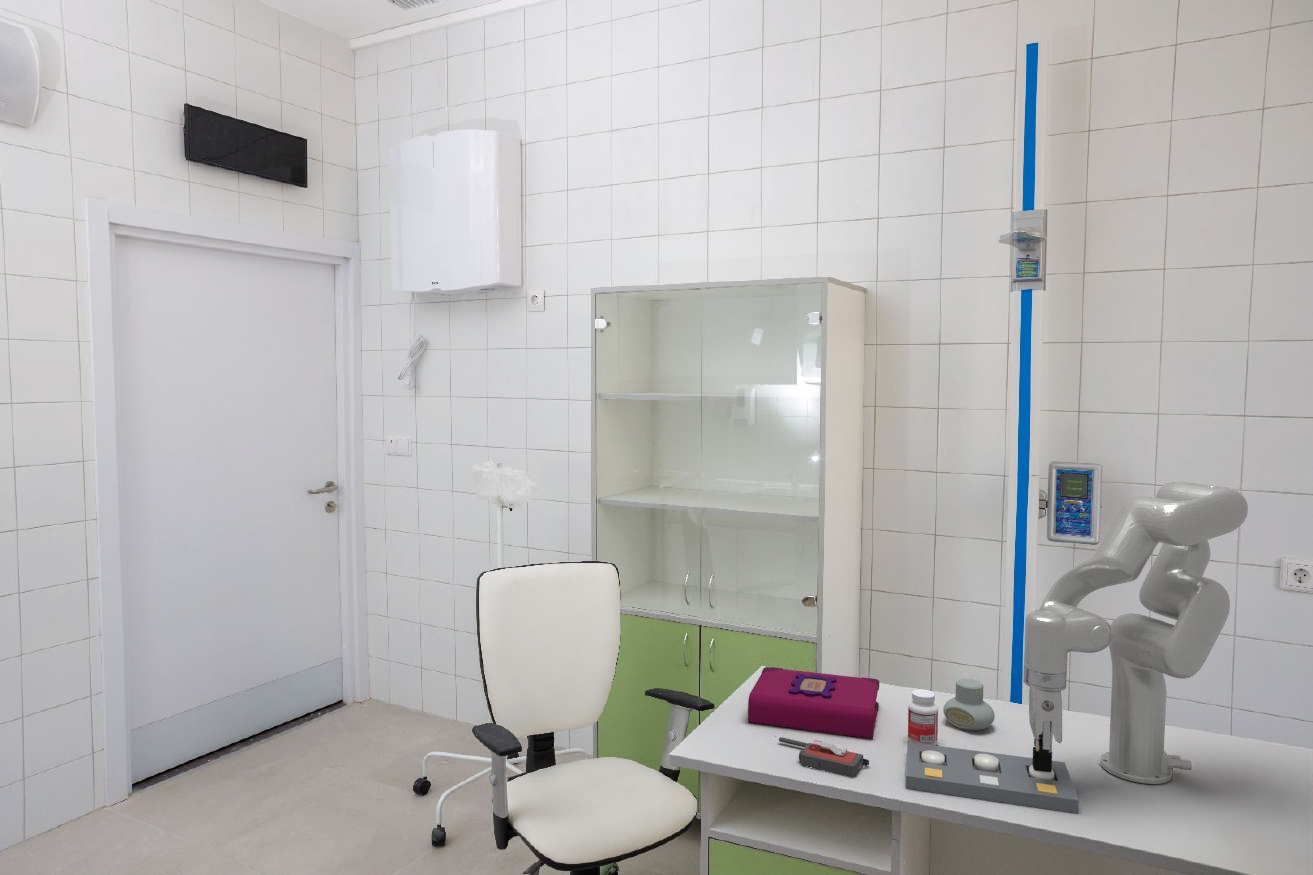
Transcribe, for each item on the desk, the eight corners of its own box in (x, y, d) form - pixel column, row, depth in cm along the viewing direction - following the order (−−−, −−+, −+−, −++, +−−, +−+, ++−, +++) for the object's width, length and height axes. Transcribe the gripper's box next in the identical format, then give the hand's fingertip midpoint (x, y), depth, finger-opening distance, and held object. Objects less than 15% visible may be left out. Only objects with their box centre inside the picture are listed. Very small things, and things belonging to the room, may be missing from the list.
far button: (944, 760, 169) (944, 752, 169) (944, 770, 165) (944, 761, 165) (921, 757, 171) (921, 749, 171) (921, 766, 166) (921, 758, 166)
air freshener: (937, 723, 191) (938, 680, 191) (954, 713, 197) (956, 672, 196) (982, 738, 183) (984, 693, 183) (1000, 727, 189) (1001, 684, 188)
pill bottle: (918, 734, 185) (919, 685, 185) (942, 743, 181) (944, 693, 180) (901, 741, 181) (902, 692, 181) (926, 751, 177) (927, 700, 176)
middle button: (997, 764, 166) (997, 755, 166) (999, 773, 162) (999, 764, 162) (973, 761, 168) (973, 752, 167) (974, 770, 163) (975, 761, 163)
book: (873, 742, 182) (874, 708, 181) (747, 725, 191) (747, 693, 190) (879, 707, 202) (879, 676, 201) (764, 693, 210) (764, 663, 210)
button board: (1064, 774, 167) (1064, 760, 166) (1078, 813, 151) (1078, 798, 151) (907, 753, 176) (907, 740, 175) (905, 788, 160) (906, 774, 160)
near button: (1052, 775, 163) (1052, 766, 163) (1055, 785, 159) (1055, 776, 159) (1027, 772, 165) (1028, 763, 164) (1030, 782, 160) (1030, 773, 160)
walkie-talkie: (872, 764, 171) (780, 743, 181) (873, 743, 171) (781, 723, 181) (860, 782, 164) (765, 758, 174) (861, 760, 164) (765, 738, 173)
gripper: (1073, 692, 152) (1069, 790, 153) (1060, 666, 166) (1057, 755, 168) (1028, 688, 155) (1025, 784, 156) (1019, 662, 169) (1016, 750, 170)
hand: (1041, 769), depth 162 cm, fingers closed
